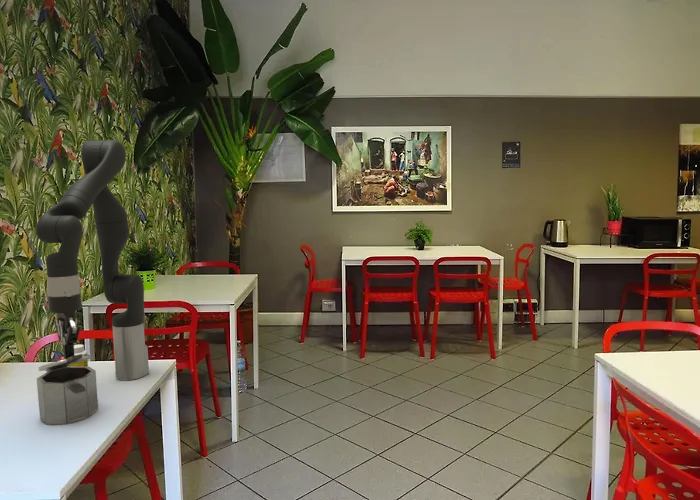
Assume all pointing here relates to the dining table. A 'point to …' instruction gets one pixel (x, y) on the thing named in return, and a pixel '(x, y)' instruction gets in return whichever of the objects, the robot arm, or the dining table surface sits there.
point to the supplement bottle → (77, 351)
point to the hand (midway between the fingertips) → (69, 357)
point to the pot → (67, 395)
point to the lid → (64, 362)
